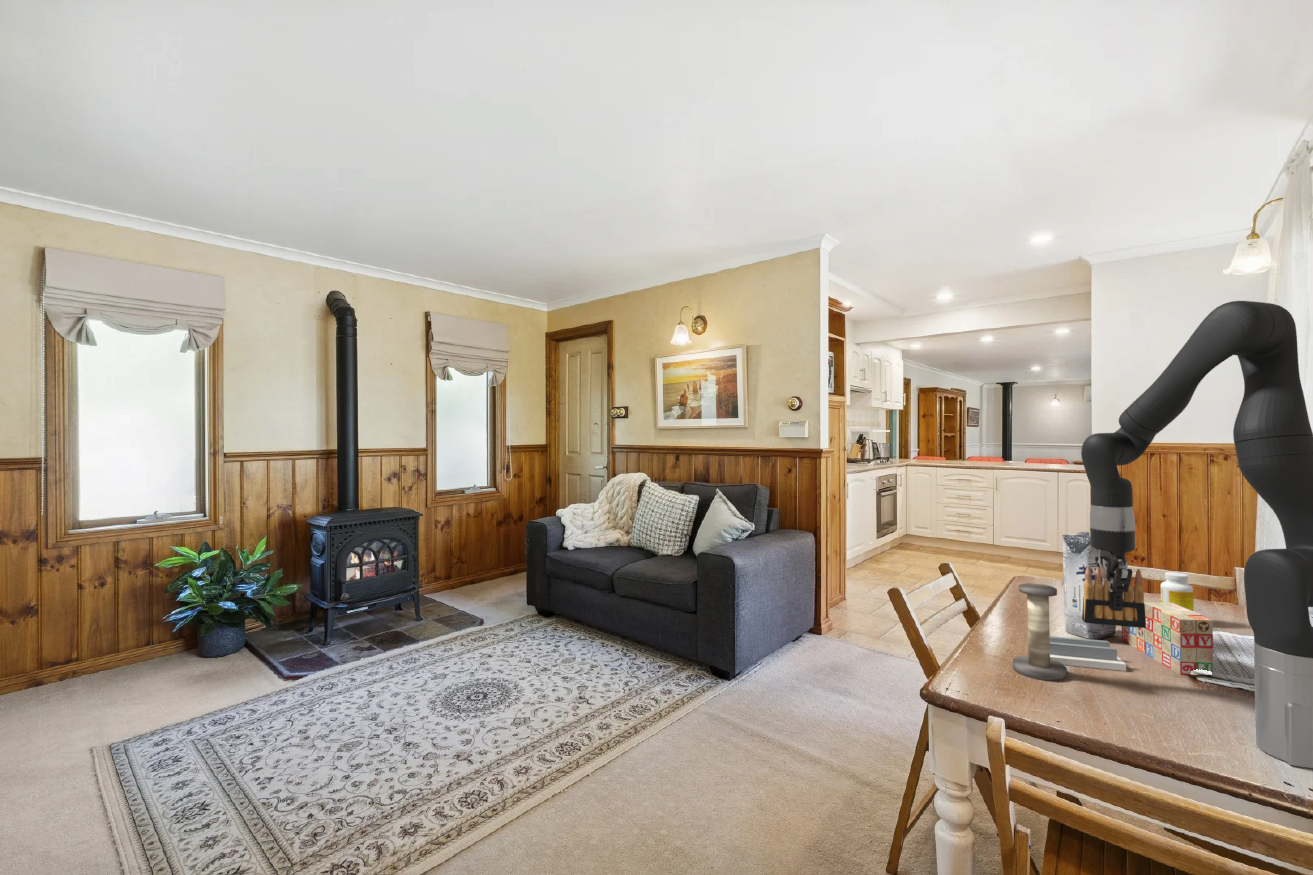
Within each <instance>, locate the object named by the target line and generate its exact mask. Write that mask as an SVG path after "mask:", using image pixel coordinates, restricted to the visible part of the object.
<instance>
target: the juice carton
mask: <svg viewBox="0 0 1313 875" xmlns="http://www.w3.org/2000/svg"><path fill="white" fill-rule="evenodd" d="M1061 536H1062V537H1061V538H1062V566H1063V567H1062V568H1063V569H1062V570H1063V572H1062V573H1063V574H1062V575H1063V578H1062V579H1063V616H1064V629H1065V632H1066V633H1067V634H1070V635H1074V636H1077V637H1081V638H1083V639H1090V640H1101V639H1104V638H1108V637H1113V636H1114V635H1116V630H1117V629H1116V628H1117V626H1116V625H1104V624H1093V623H1086V622H1084V621H1083V620H1082V611H1083V597H1084V583H1085V572H1086V569H1087V567H1088V566H1089V567H1090V570H1091V574H1092V584H1093V587H1094V580H1095V571H1096V569H1097V567H1096V562H1095V557H1096V556H1097V557H1099V556H1100V550H1097V549H1094V548H1092V547H1091V546H1090V531H1080V532H1078V533H1074V534H1073V533H1071V534H1069V533H1068V534H1062V535H1061Z"/></svg>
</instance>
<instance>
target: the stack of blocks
mask: <svg viewBox="0 0 1313 875" xmlns="http://www.w3.org/2000/svg"><path fill="white" fill-rule="evenodd" d="M1144 604H1145V617H1146V628H1139V627H1127V626H1120V627H1121V640H1122V641H1123V642H1125V643H1127V644H1128V645H1130V646H1131V647H1133V648H1134V649H1137V650H1138V651H1140V652H1141V653H1143V654H1145V655H1146V656H1147V657H1148V656H1149V657H1150V658H1152V659H1153V660H1156V661H1157V662H1159V663H1160V664H1162V665H1164V666H1165V667H1167V668H1168V669H1170V670H1172V671H1174V672H1175V673H1177V675H1181V676H1191V675H1190V673H1191V671H1193V670H1196V669H1198V670H1199V669H1200V670H1201V669H1202V670H1207V671H1211V672H1213V673H1214V662H1213V658H1214V657H1213V655H1214V652H1213V648H1214V635H1213V634H1214V620H1212V619H1210V618H1208V617H1206V616H1204V615H1202V614H1201V613H1198V612H1196V611H1195V610H1194V611H1191V610H1188V609H1186V608H1184V607H1181V606H1179V605H1176V604H1174V603H1161V602H1148V601H1147V602H1145V601H1144Z"/></svg>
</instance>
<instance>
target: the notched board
mask: <svg viewBox="0 0 1313 875" xmlns="http://www.w3.org/2000/svg"><path fill="white" fill-rule="evenodd" d="M1110 645H1111V644H1110V642H1109V640H1101V639H1098V640H1091V639H1088V638H1078V637H1065V636H1051V635H1050V659H1051V660H1054V661H1057V662H1059V663H1061V664H1063V665H1064V666H1071V667H1072V666H1073V667H1081V668H1091V669H1099V670H1100V669H1101V670H1111V671H1119V672H1120V671H1122V672H1127V664H1126V662H1124V660H1122V659H1121V658H1120V657H1119V656H1118V648H1117V647H1110Z"/></svg>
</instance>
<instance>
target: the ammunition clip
mask: <svg viewBox="0 0 1313 875" xmlns="http://www.w3.org/2000/svg"><path fill="white" fill-rule="evenodd" d="M1110 577H1111V576H1110ZM1143 585H1144V584H1143V575H1142V572H1141V570H1140V569H1139V568H1138V569H1137V570H1136V573H1135V576H1134V585H1133V578H1132V577H1131V581H1130V585H1129V589H1128V592H1124V593H1123V610H1122V611H1114V610H1111V609H1110V608H1109V590H1108V581H1107V580H1106V579H1105V580H1104V586H1102V576H1101V571H1100V568H1099V567H1097V569H1096V571H1095V580H1094V587H1093V584H1092V574H1091V570H1090V567H1089V566H1088V567H1087V569H1086V572H1085V583H1084V597H1083V611H1082V620H1083V621H1084V622H1086V623H1093V624H1104V625H1116V627H1117V626H1118V627H1121V626H1127V627H1139V628H1146V617H1145V604H1144V602H1145V595H1144V594H1145V592H1144V591H1145V590H1144V586H1143ZM1118 586H1119V584H1118Z"/></svg>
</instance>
